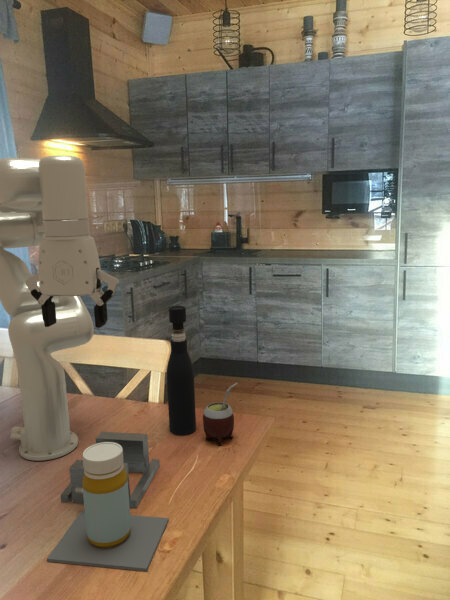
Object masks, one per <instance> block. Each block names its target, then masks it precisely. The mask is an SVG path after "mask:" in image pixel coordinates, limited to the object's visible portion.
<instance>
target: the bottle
mask: <svg viewBox="0 0 450 600" xmlns="http://www.w3.org/2000/svg"><path fill="white" fill-rule="evenodd" d="M82 460H83V466H84V477H83V480H82V487H83V498H84V504H83V506H84V507H83V508H84V511H85V520H86V531H87V538H88V540H89V541H90V542H91V543H92V544H93V545H95V546H97V547H102V548H107V547H113V546H116V545H118V544H120V543H122V542H123V541H124V540H125V539H126V538H127V536H128V535H129V533H130V531H131V521H130V515H131V510H130V507H129V492H128V478H127V473H126V471H125V469H124V464H123V449H122V447H121V445H119V444H117V443H114V442H102V443H97V444H96V443H94V444H92V445H90V446H88V447H87V448H85V449H84V450H83V452H82Z"/></svg>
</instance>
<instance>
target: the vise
mask: <svg viewBox="0 0 450 600" xmlns="http://www.w3.org/2000/svg"><path fill="white" fill-rule="evenodd" d="M148 436H149V435H148V433H132V432H119V431H118V432H115V431H101V432H99V434H98V435H97V436H96V437H95V444H97V443H102V442H114V443H117V444H119V445H121V447H122V449H123V464H124V469H125V471H126V473H127V478H128V492H129V507H130V508H133V509H137V508H138V506H139V505H140V503H141V500H142V499H143V497H144V495H145V493H146V492H147V490H148V488H149V486H150V484H151V482H152V481H153V479H154V477H155V476H156V474H157V472H158V470H159V468H160V463H161V462H160V458H151V460H150V454H149V453H150V452H149V440H148ZM68 470H69V478H70V479H69V480H70V483H69V484H68V485H66V487H65V488H64V490H63V491H62V492H61V494H60V500H61V501H60V502H61V503H70V502H71V501H72V504H79V505H80V504H82V505H84V498H83V487H82V480H83V477H84V466H83V459H75V461H74V462H73V464H71V466H70V467H69V469H68ZM129 473H143V474H142V476H141V478H140V479H139V481H138V482H137V484H136V485H135V487H134V489H133V491H132V493H131V490H130V489H131V488H130V474H129Z"/></svg>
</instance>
